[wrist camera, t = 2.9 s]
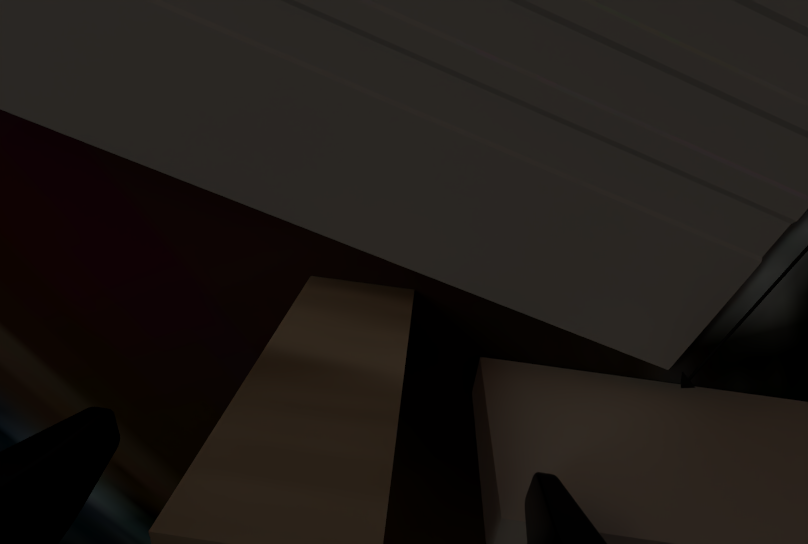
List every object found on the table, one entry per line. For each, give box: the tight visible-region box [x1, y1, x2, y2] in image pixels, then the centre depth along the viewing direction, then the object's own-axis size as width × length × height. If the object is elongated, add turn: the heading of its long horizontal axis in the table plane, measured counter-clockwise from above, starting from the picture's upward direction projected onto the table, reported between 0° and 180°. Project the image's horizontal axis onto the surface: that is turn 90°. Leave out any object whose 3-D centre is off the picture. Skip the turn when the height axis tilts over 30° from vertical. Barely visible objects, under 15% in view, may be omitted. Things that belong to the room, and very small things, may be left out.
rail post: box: [149, 276, 414, 544], centre depth 10 cm, size 3×3×8 cm
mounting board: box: [472, 357, 808, 544], centre depth 11 cm, size 2×14×6 cm, turn 84°
